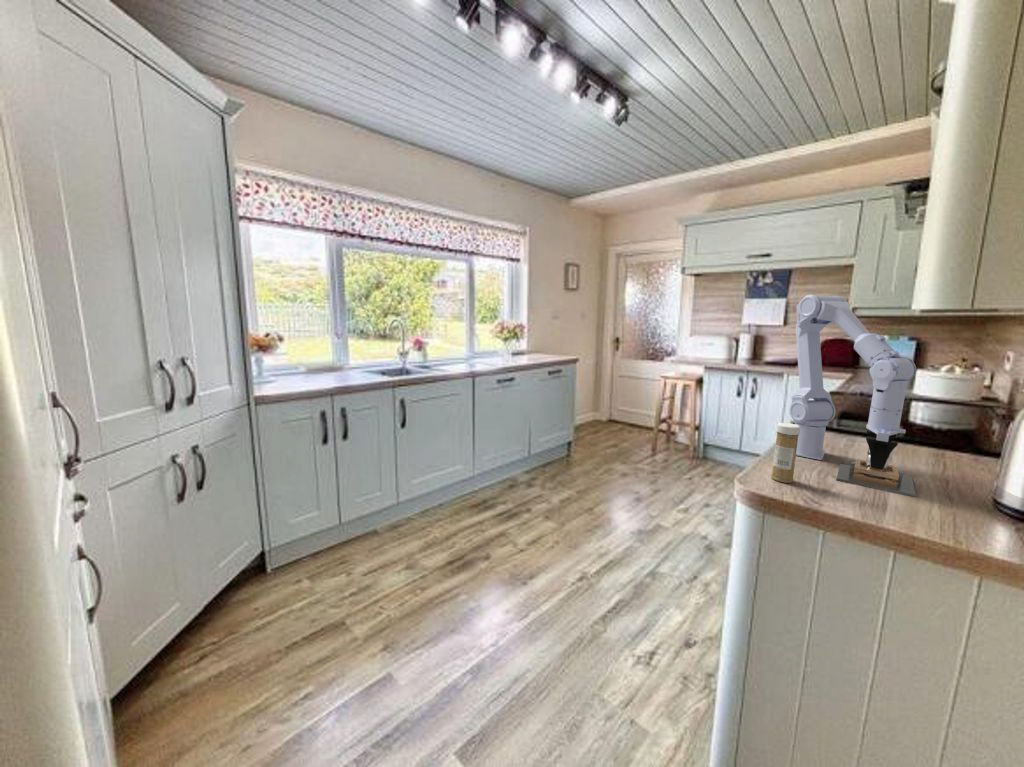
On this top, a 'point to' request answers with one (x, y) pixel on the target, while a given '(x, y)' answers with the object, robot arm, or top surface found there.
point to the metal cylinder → (868, 466)
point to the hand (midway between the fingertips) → (876, 464)
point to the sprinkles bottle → (785, 452)
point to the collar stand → (890, 483)
